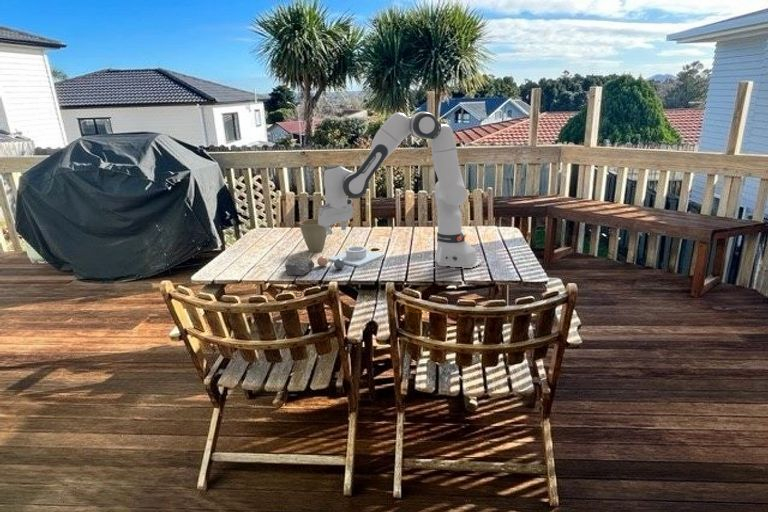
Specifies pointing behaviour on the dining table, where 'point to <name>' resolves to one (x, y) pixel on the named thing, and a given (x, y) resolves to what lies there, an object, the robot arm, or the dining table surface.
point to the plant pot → (313, 234)
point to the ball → (322, 261)
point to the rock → (298, 265)
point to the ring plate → (358, 262)
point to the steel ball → (339, 263)
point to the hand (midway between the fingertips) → (336, 232)
